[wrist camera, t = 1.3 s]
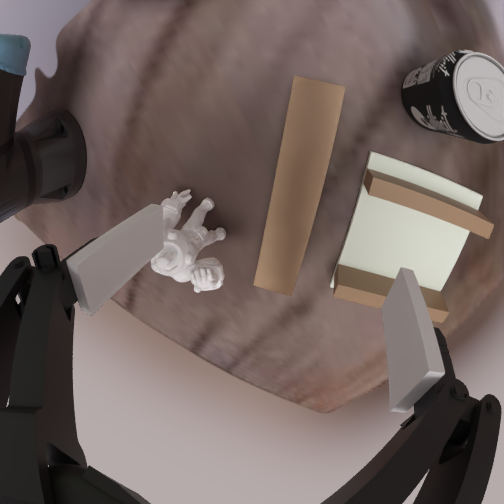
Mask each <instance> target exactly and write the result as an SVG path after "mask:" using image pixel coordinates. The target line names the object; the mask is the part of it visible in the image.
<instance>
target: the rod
mask: <svg viewBox="0 0 504 504" xmlns="http://www.w3.org/2000/svg"><path fill="white" fill-rule="evenodd" d="M344 92H345V87H343V86H339V85H335V84H331V83H327V82H323V81H318V80H314V79H309V78H304V77H299V76H294V79H293V84H292V89H291V95H290V100H289V106H288V111H287V116H286V122H285V127H284V132H283V138H282V143H281V148H280V154H279V159H278V164H277V169H276V174H275V180H274V185H273V190H272V195H271V200H270V205H269V210H268V216H267V221H266V226H265V231H264V236H263V241H262V246H261V251H260V256H259V261H258V266H257V271H256V276H255V281H254V286H257V287H261V288H264V289H268V290H271V291H275V292H278V293H282V294H285V295H289V296H292V293H293V290H294V287H295V284H296V281H297V277H298V274H299V271H300V267H301V264H302V261H303V257H304V254H305V251H306V247H307V244H308V240H309V237H310V233H311V230H312V226H313V222H314V219H315V215H316V212H317V208H318V204H319V200H320V196H321V193H322V189H323V185H324V181H325V177H326V173H327V169H328V165H329V161H330V156H331V152H332V148H333V144H334V139H335V135H336V130H337V126H338V121H339V117H340V112H341V107H342V102H343V97H344Z"/></svg>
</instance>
